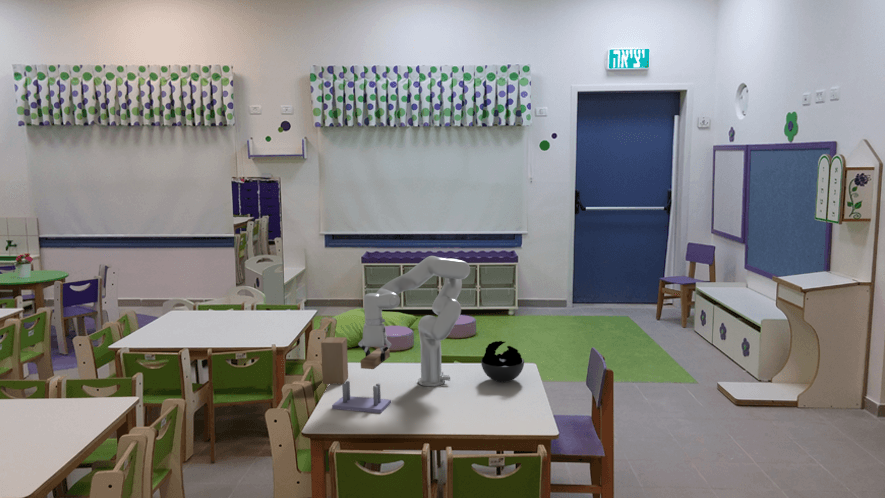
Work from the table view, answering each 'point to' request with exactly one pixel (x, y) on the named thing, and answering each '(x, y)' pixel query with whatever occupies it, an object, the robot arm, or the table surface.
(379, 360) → the shelf board
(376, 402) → the peg stand
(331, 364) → the wooden block
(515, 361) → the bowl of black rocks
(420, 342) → the robot arm
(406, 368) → the table surface
